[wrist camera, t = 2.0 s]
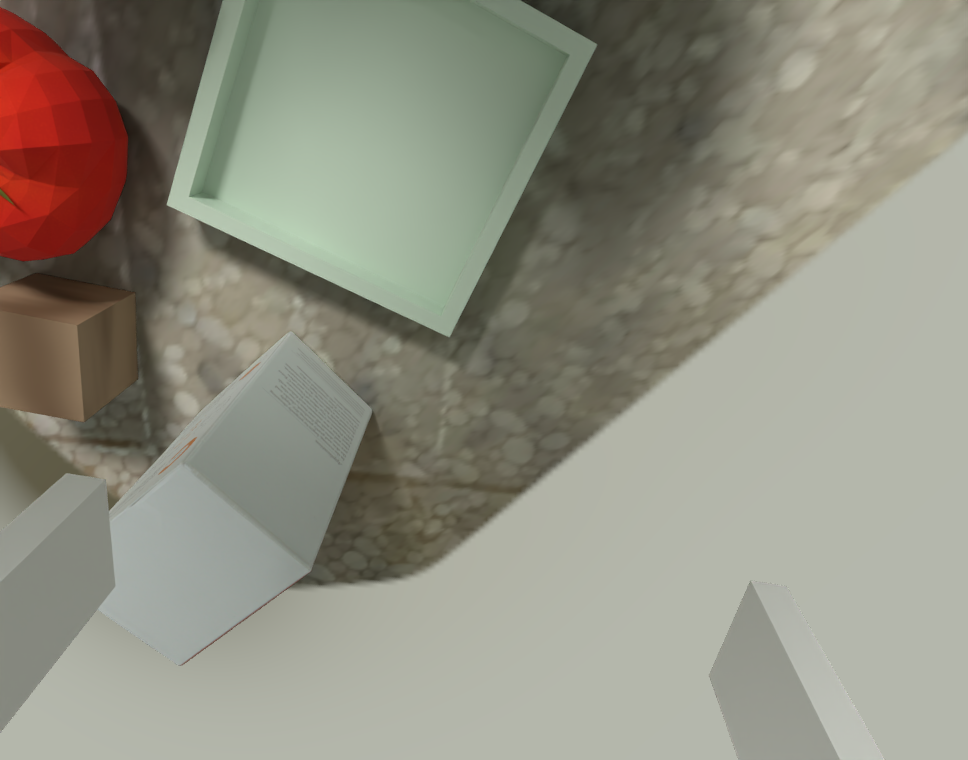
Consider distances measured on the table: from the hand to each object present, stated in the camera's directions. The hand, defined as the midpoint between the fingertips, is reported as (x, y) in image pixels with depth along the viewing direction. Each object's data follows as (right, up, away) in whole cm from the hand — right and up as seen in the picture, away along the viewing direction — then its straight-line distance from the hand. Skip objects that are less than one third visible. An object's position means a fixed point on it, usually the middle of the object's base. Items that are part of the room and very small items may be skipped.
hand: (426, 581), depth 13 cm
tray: (-4, +16, +16) cm, 23 cm away
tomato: (-20, +16, +17) cm, 30 cm away
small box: (-10, +2, +22) cm, 25 cm away
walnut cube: (-20, +7, +21) cm, 29 cm away
